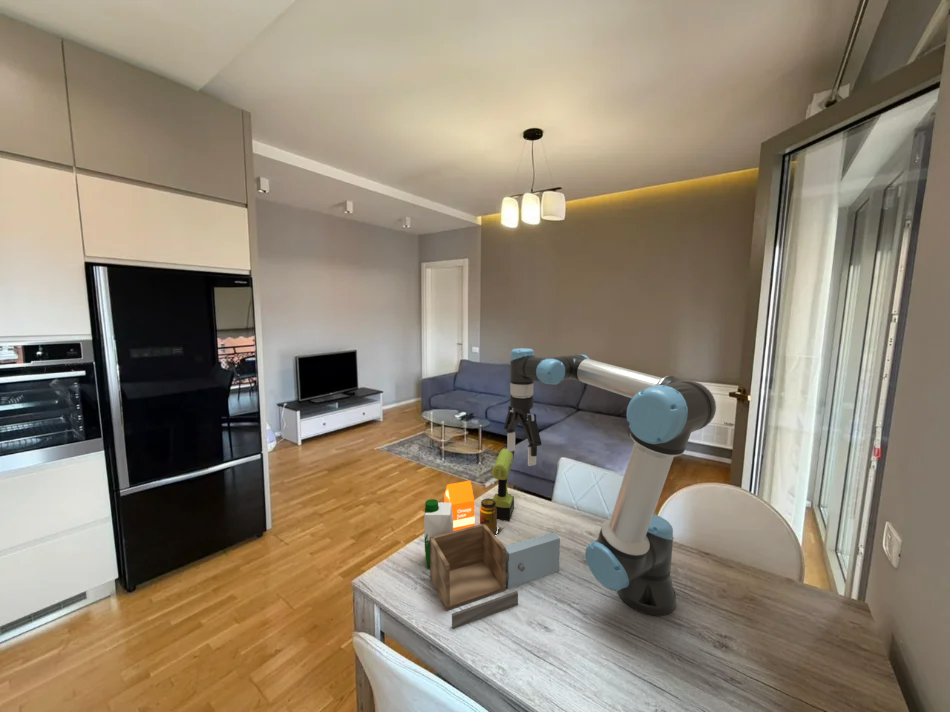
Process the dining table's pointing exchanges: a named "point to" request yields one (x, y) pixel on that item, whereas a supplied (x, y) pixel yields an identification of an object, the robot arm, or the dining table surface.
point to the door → (532, 559)
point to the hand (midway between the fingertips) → (521, 457)
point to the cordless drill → (503, 484)
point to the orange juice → (461, 504)
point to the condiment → (489, 515)
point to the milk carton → (436, 522)
